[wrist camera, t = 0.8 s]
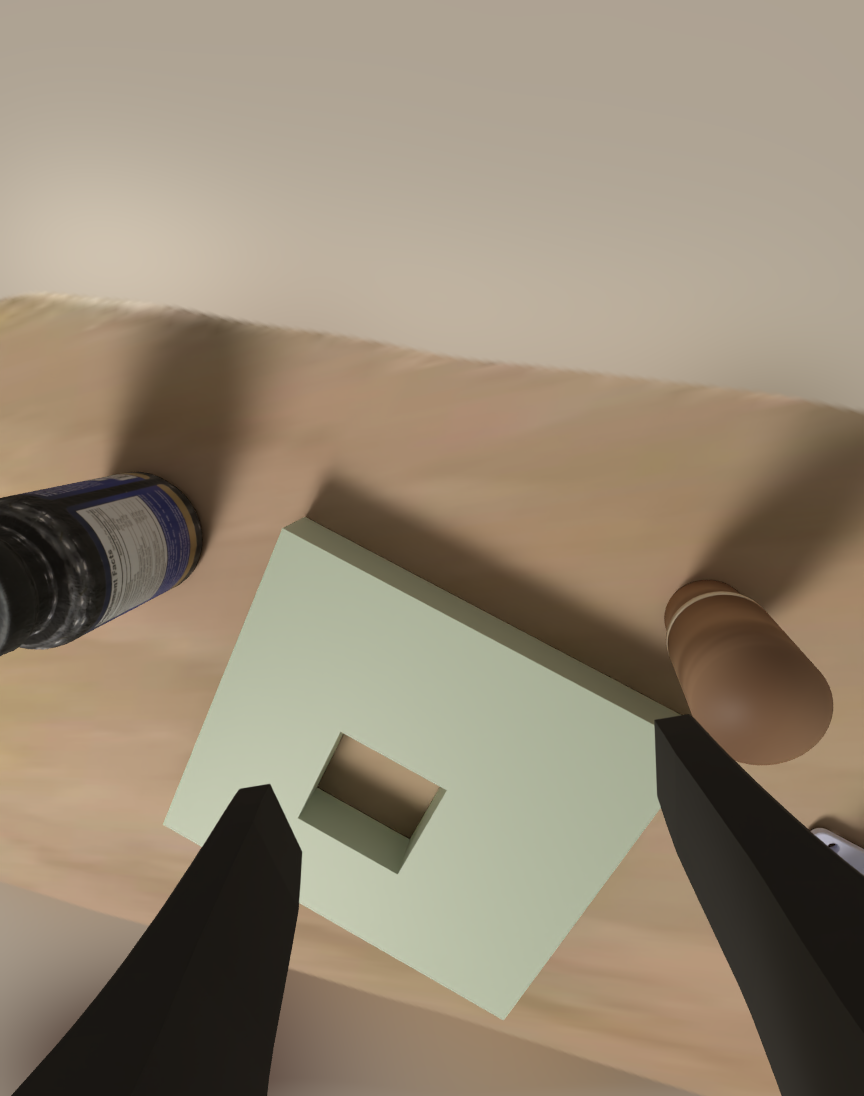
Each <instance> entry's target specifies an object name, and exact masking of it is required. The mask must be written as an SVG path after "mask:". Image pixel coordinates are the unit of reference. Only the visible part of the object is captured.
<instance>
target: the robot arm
mask: <svg viewBox="0 0 864 1096" xmlns="http://www.w3.org/2000/svg"><path fill="white" fill-rule="evenodd" d="M654 728H655V755H656V782H657V797H658V800H659V803H660V806H661V809H662V812H663V815H664V818H665V821H666V824H667V827H668V830H669V832H670V835H671V838H672V841H673V844H674V846H675V849H676V852H677V854H678V857H679V859H680V861H681V863H682V865H683V867H684V870H685V872H686V874H687V876H688V878H689V880H690V883H691V885H692V887H693V889H694V891H695V893H696V895H697V898H698V900H699V902H700V904H701V906H702V908H703V910H704V912H705V915H706V917H707V919H708V921H709V923H710V925H711V927H712V929H713V932H714V934H715V936H716V938H717V940H718V942H719V944H720V946H721V949H722V951H723V953H724V955H725V957H726V959H727V961H728V963H729V966H730V968H731V970H732V972H733V974H734V976H735V978H736V980H737V983H738V985H739V987H740V989H741V992H742V994H743V996H744V999H745V1001H746V1003H747V1006H748V1008H749V1010H750V1013H751V1015H752V1018H753V1020H754V1023H755V1026H756V1028H757V1031H758V1034H759V1036H760V1039H761V1041H762V1044H763V1047H764V1049H765V1052H766V1055H767V1057H768V1060H769V1063H770V1065H771V1068H772V1071H773V1073H774V1076H775V1079H776V1081H777V1084H778V1087H779V1089H780V1092H781V1095H782V1096H864V849H863V848H861V847H859V846H857V845H855V844H853V843H851V842H849V841H848V840H846V839H844V838H842V837H840V836H838V835H836V834H834V833H833V832H831V831H829V830H827V829H824V828H816V829H813V830H811V831H810V830H809V829H807V828H806V827H805V826H804V825H803V824H802V823H801V822H799V821H798V820H797V819H796V818H795V817H794V816H793V815H792V814H791V813H789V812H788V811H787V810H786V809H785V808H784V807H783V806H782V805H781V804H780V803H779V802H777V801H776V800H775V799H774V798H773V797H772V796H771V795H770V794H769V793H768V792H767V791H766V790H764V789H763V788H762V787H761V786H760V785H759V784H758V783H757V782H756V781H755V780H754V779H753V778H752V777H751V776H750V775H749V774H748V773H747V772H746V771H745V770H744V769H743V768H742V767H741V766H740V765H739V764H738V763H737V762H736V761H735V760H734V759H733V758H732V757H731V756H730V755H729V754H728V753H727V752H726V751H725V750H724V749H723V748H722V747H721V746H720V745H719V744H718V743H717V742H716V741H715V740H714V739H713V738H712V737H711V736H710V734H709V733H708V732H707V731H706V730H705V729H704V728H703V727H702V726H701V725H700V724H699V723H698V721H697V720H696V719H695V718H693V717H692V716H690V715H689V714H687V715H681V716H675V717H669V718H662V719H656V720H654ZM831 843H835V844H836V845H835V846H833V847H828V845H829V844H831ZM301 868H302V850H301V848H300V846H299V844H298V842H297V839H296V837H295V835H294V833H293V831H292V829H291V827H290V825H289V822H288V820H287V818H286V816H285V814H284V812H283V810H282V808H281V806H280V803H279V801H278V799H277V797H276V795H275V793H274V791H273V789H272V786H271V784H265V785H259V786H253V787H247V788H241V789H239V790H238V791H237V793H236V794H235V796H234V797H233V799H232V800H231V802H230V803H229V805H228V806H227V808H226V810H225V811H224V813H223V814H222V816H221V818H220V819H219V821H218V822H217V824H216V826H215V827H214V829H213V830H212V832H211V833H210V835H209V837H208V838H207V840H206V841H205V843H204V845H203V846H202V848H201V849H200V851H199V852H198V854H197V856H196V857H195V859H194V860H193V862H192V863H191V865H190V866H189V868H188V869H187V871H186V872H185V874H184V875H183V877H182V878H181V880H180V882H179V883H178V885H177V886H176V888H175V889H174V891H173V892H172V894H171V895H170V897H169V898H168V900H167V901H166V903H165V904H164V906H163V907H162V908H161V910H160V911H159V913H158V914H157V916H156V917H155V919H154V920H153V921H152V923H151V924H150V925H149V927H148V928H147V930H146V931H145V933H144V934H143V935H142V937H141V938H140V939H139V941H138V942H137V944H136V945H135V946H134V948H133V949H132V951H131V952H130V953H129V955H128V956H127V958H126V959H125V960H124V962H123V963H122V964H121V966H120V967H119V968H118V970H117V971H116V973H115V974H114V975H113V976H112V977H111V979H110V980H109V981H108V983H107V984H106V985H105V987H104V988H103V989H102V990H101V992H100V993H99V994H98V996H97V997H96V998H95V999H94V1000H93V1002H92V1003H91V1004H90V1005H89V1007H88V1008H87V1009H86V1010H85V1012H84V1013H83V1014H82V1015H81V1016H80V1018H79V1019H78V1020H77V1021H76V1023H75V1024H74V1025H73V1026H72V1027H71V1029H70V1030H69V1031H68V1032H67V1033H66V1035H65V1036H64V1037H63V1038H62V1039H61V1040H60V1042H59V1043H58V1044H57V1045H56V1046H55V1047H54V1048H53V1050H52V1051H51V1052H50V1053H49V1054H48V1055H47V1056H46V1058H45V1059H44V1060H43V1061H42V1062H41V1063H40V1064H39V1065H38V1066H37V1067H36V1069H35V1070H34V1071H33V1072H32V1073H31V1074H30V1075H29V1077H28V1078H27V1079H26V1080H25V1081H24V1082H23V1083H22V1084H21V1085H20V1086H19V1088H18V1089H17V1090H16V1091H15V1092H14V1093H13V1094H12V1095H11V1096H267V1091H268V1081H269V1074H270V1067H271V1061H272V1054H273V1047H274V1042H275V1037H276V1031H277V1026H278V1020H279V1014H280V1010H281V1004H282V999H283V993H284V988H285V982H286V977H287V972H288V966H289V961H290V955H291V950H292V944H293V939H294V933H295V927H296V922H297V916H298V910H299V897H300V885H301Z"/></svg>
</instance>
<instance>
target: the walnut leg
mask: <svg viewBox="0 0 864 1096" xmlns="http://www.w3.org/2000/svg"><path fill="white" fill-rule="evenodd" d="M664 620H665V626H666V629H667V633H666V647H667V651H668V654H669V657H670V659H671V662H672V665H673V667H674V670H675V672H676V675H677V677H678V680H679V683H680V685H681V688H682V690H683V693H684V695H685V698H686V701H687V703H688V706H689V708H690V711H691V713H692V716H693V718H695V719H696V720H697V721H698V723H699V724H700V725H701V726H702V727H703V728H704V729H705V730H706V731H707V732H708V733H709V734H710V736H711V737H712V738H713V739H714V740H715V741H716V742H717V743H718V744H719V745H720V746H721V747H722V748H723V749H724V750H725V751H726V752H727V753H728V754H729V755H730V756H731V757H732V758H733V759H734V760H735V761H738V762H741V763H746V764H751V765H773V764H779V763H783V762H787V761H790V760H792V759H795V758H797V757H799V756H801V755H803V754H804V753H806V752H807V751H809V750H810V749H811V748H813V747H814V746H815V745H816V744H817V743H818V742H819V741H820V740H821V738H822V737H823V736H824V734H825V733H826V731H827V729H828V727H829V725H830V722H831V719H832V714H833V698H832V693H831V690H830V687H829V685H828V683H827V681H826V679H825V678H824V676H823V675H822V674H821V672H820V671H819V670H818V669H817V668H816V667H815V666H814V664H813V663H812V662H811V661H810V660H809V659H808V658H807V657H806V656H805V654H804V653H803V652H802V651H801V650H800V649H799V648H798V647H797V645H796V644H795V643H794V642H793V641H792V640H791V639H790V638H789V637H788V635H787V634H786V633H785V632H784V631H783V630H782V629H781V628H780V627H779V625H778V624H777V623H776V622H775V621H774V620H773V619H772V618H771V616H770V615H769V614H768V613H767V612H766V611H765V610H764V609H763V608H762V607H761V606H760V605H759V604H758V603H756V602H755V601H754V600H752V599H750V598H748V597H746V596H744V595H741V594H740V593H739V592H738V591H737V590H736V589H734V588H733V587H731V586H730V585H728V584H726V583H723V582H720V581H715V580H700V581H695V582H692V583H690V584H687V585H685V586H684V587H682V588H680V589H679V590H678V591H677V592H676V593H675V594H674V595H673V596H672V597H671V599H670V600H669V602H668V604H667V607H666V610H665V616H664Z"/></svg>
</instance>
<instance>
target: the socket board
mask: <svg viewBox="0 0 864 1096" xmlns="http://www.w3.org/2000/svg"><path fill="white" fill-rule="evenodd" d="M675 716H681V715H680V714H678V713H676V712H675V711H673V710H671V709H669V708H667V707H665V706H663V705H661V704H659V703H657V702H656V701H654V700H652V699H650V698H648V697H646V696H644V695H642V694H640V693H638V692H637V691H635V690H633V689H631V688H629V687H627V686H625V685H623V684H621V683H620V682H618V681H616V680H614V679H612V678H610V677H608V676H606V675H604V674H602V673H601V672H599V671H597V670H595V669H593V668H591V667H589V666H587V665H585V664H583V663H582V662H580V661H578V660H576V659H574V658H572V657H570V656H568V655H566V654H564V653H563V652H561V651H559V650H557V649H555V648H553V647H551V646H549V645H547V644H545V643H544V642H542V641H540V640H538V639H536V638H534V637H532V636H530V635H528V634H526V633H525V632H523V631H521V630H519V629H517V628H515V627H513V626H511V625H509V624H507V623H506V622H504V621H502V620H500V619H498V618H496V617H494V616H492V615H490V614H489V613H487V612H485V611H483V610H481V609H479V608H477V607H475V606H473V605H471V604H470V603H468V602H466V601H464V600H462V599H460V598H458V597H456V596H454V595H452V594H451V593H449V592H447V591H445V590H443V589H441V588H439V587H437V586H435V585H433V584H432V583H430V582H428V581H426V580H424V579H422V578H420V577H418V576H416V575H414V574H413V573H411V572H409V571H407V570H405V569H403V568H401V567H399V566H397V565H395V564H394V563H392V562H390V561H388V560H386V559H384V558H382V557H380V556H378V555H377V554H375V553H373V552H371V551H369V550H367V549H365V548H363V547H361V546H359V545H358V544H356V543H354V542H352V541H350V540H348V539H346V538H344V537H342V536H340V535H339V534H337V533H335V532H333V531H331V530H329V529H327V528H325V527H323V526H321V525H320V524H318V523H316V522H314V521H312V520H310V519H308V518H306V517H304V518H302V519H300V520H298V521H296V522H294V523H292V524H290V525H288V526H286V527H284V528H282V531H281V533H280V536H279V538H278V541H277V543H276V546H275V548H274V551H273V553H272V556H271V558H270V560H269V563H268V565H267V568H266V570H265V573H264V575H263V578H262V580H261V583H260V585H259V588H258V590H257V593H256V595H255V598H254V600H253V603H252V605H251V608H250V610H249V613H248V615H247V617H246V620H245V622H244V625H243V627H242V630H241V632H240V635H239V637H238V640H237V642H236V645H235V647H234V650H233V652H232V655H231V657H230V660H229V662H228V665H227V667H226V670H225V672H224V674H223V677H222V679H221V682H220V684H219V687H218V689H217V692H216V694H215V697H214V699H213V702H212V704H211V707H210V709H209V712H208V714H207V717H206V719H205V722H204V724H203V727H202V729H201V732H200V734H199V736H198V739H197V741H196V744H195V746H194V749H193V751H192V754H191V756H190V759H189V761H188V764H187V766H186V769H185V771H184V774H183V776H182V779H181V781H180V784H179V786H178V789H177V791H176V793H175V796H174V798H173V801H172V803H171V806H170V808H169V811H168V813H167V816H166V818H165V821H164V823H163V825H165V826H166V827H168V828H170V829H172V830H173V831H175V832H177V833H179V834H180V835H182V836H184V837H185V838H187V839H189V840H191V841H192V842H194V843H196V844H198V845H199V846H201V847H202V846H203V845H204V843H205V841H206V840H207V838H208V837H209V835H210V833H211V832H212V830H213V829H214V827H215V826H216V824H217V822H218V821H219V819H220V818H221V816H222V814H223V813H224V811H225V810H226V808H227V806H228V805H229V803H230V802H231V800H232V799H233V797H234V796H235V794H236V793H237V791H238V790H239V789H241V788H247V787H253V786H259V785H265V784H271V786H272V789H273V791H274V793H275V795H276V797H277V799H278V801H279V803H280V806H281V808H282V810H283V812H284V814H285V816H286V818H287V820H288V822H289V825H290V827H291V829H292V831H293V833H294V835H295V837H296V839H297V842H298V844H299V846H300V848H301V850H302V868H301V885H300V897H299V903H300V904H302V905H304V906H305V907H307V908H309V909H311V910H312V911H314V912H316V913H318V914H319V915H321V916H323V917H325V918H326V919H328V920H330V921H332V922H333V923H335V924H337V925H339V926H340V927H342V928H344V929H345V930H347V931H349V932H351V933H352V934H354V935H356V936H358V937H359V938H361V939H363V940H365V941H366V942H368V943H370V944H372V945H373V946H375V947H377V948H379V949H380V950H382V951H384V952H385V953H387V954H389V955H391V956H392V957H394V958H396V959H398V960H399V961H401V962H403V963H405V964H406V965H408V966H410V967H412V968H413V969H415V970H417V971H419V972H420V973H422V974H424V975H425V976H427V977H429V978H431V979H432V980H434V981H436V982H438V983H439V984H441V985H443V986H445V987H446V988H448V989H450V990H452V991H453V992H455V993H457V994H459V995H460V996H462V997H464V998H465V999H467V1000H469V1001H471V1002H472V1003H474V1004H476V1005H478V1006H479V1007H481V1008H483V1009H485V1010H486V1011H488V1012H490V1013H492V1014H493V1015H495V1016H497V1017H499V1018H500V1019H502V1020H504V1019H505V1018H506V1016H507V1015H508V1014H509V1012H510V1011H511V1010H512V1008H513V1007H514V1006H515V1004H516V1003H517V1002H518V1000H519V999H520V998H521V996H522V995H523V993H524V992H525V991H526V989H527V988H528V987H529V985H530V984H531V983H532V981H533V980H534V979H535V977H536V976H537V974H538V973H539V972H540V970H541V969H542V968H543V966H544V965H545V964H546V962H547V961H548V960H549V958H550V957H551V956H552V954H553V953H554V951H555V950H556V949H557V947H558V946H559V945H560V943H561V942H562V941H563V939H564V938H565V937H566V935H567V934H568V933H569V931H570V930H571V928H572V927H573V926H574V924H575V923H576V922H577V920H578V919H579V918H580V916H581V915H582V914H583V912H584V911H585V909H586V908H587V907H588V905H589V904H590V903H591V901H592V900H593V899H594V897H595V896H596V895H597V893H598V892H599V891H600V889H601V888H602V886H603V885H604V884H605V882H606V881H607V880H608V878H609V877H610V876H611V874H612V873H613V872H614V870H615V869H616V867H617V866H618V865H619V863H620V862H621V861H622V859H623V858H624V857H625V855H626V854H627V853H628V851H629V850H630V849H631V847H632V846H633V844H634V843H635V842H636V840H637V839H638V838H639V836H640V835H641V834H642V832H643V831H644V830H645V828H646V827H647V826H648V824H649V823H650V821H651V820H652V819H653V817H654V816H655V815H656V813H657V812H658V811H659V809H660V808H661V806H660V803H659V800H658V797H657V782H656V755H655V728H654V720H656V719H662V718H669V717H675ZM343 734H345V735H347V736H349V737H351V738H353V739H354V740H356V741H358V742H360V743H362V744H364V745H365V746H367V747H369V748H371V749H373V750H374V751H376V752H378V753H380V754H382V755H384V756H385V757H387V758H389V759H391V760H393V761H394V762H396V763H398V764H400V765H402V766H403V767H405V768H407V769H409V770H411V771H413V772H414V773H416V774H418V775H420V776H422V777H423V778H425V779H427V780H429V781H431V782H433V783H434V784H436V785H438V786H440V788H439V790H438V791H437V793H436V795H435V797H434V798H433V800H432V802H431V803H430V805H429V807H428V809H427V810H426V812H425V814H424V816H423V817H422V819H421V821H420V822H419V824H418V826H417V828H416V829H415V831H414V833H413V834H412V836H411V838H410V839H408V838H406V837H405V836H403V835H401V834H399V833H397V832H396V831H394V830H392V829H390V828H388V827H387V826H385V825H383V824H381V823H380V822H378V821H376V820H374V819H372V818H371V817H369V816H367V815H365V814H363V813H362V812H360V811H358V810H356V809H355V808H353V807H351V806H349V805H347V804H346V803H344V802H342V801H340V800H338V799H337V798H335V797H333V796H331V795H329V794H328V793H326V792H324V791H322V790H321V789H319V788H317V786H318V784H319V782H320V780H321V778H322V776H323V774H324V772H325V770H326V768H327V766H328V764H329V762H330V760H331V758H332V756H333V754H334V752H335V750H336V748H337V746H338V744H339V742H340V740H341V738H342V736H343Z"/></svg>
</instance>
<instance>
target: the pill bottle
mask: <svg viewBox="0 0 864 1096" xmlns="http://www.w3.org/2000/svg"><path fill="white" fill-rule="evenodd" d="M201 549H202V531H201V526H200V522H199V518H198V516H197V514H196V512H195V509H194V508H193V506H192V505H191V503H190V501H189V500H188V499H187V498H186V496H185V495H184V494H183V493H182V492H181V491H180V490H178V489H177V488H176V487H175V486H173V485H171V484H170V483H169V482H167V481H165V480H163V479H161V478H160V477H158V476H155V475H152V474H148V473H143V472H129V473H123V474H116V475H111V476H107V477H102V478H97V479H92V480H87V481H82V482H77V483H72V484H67V485H62V486H57V487H52V488H48V489H43V490H38V491H33V492H28V493H23V494H18V495H13V496H8V497H3V498H0V656H2V655H3V654H6V653H8V652H11V651H14V650H15V649H17V648H18V647H20V648H26V649H49V648H54V647H58V646H61V645H65V644H67V643H69V642H72V641H74V640H75V639H77V638H79V637H81V636H82V635H84V634H86V633H88V632H90V631H92V630H94V629H96V628H97V627H99V626H101V625H103V624H105V623H107V622H109V621H111V620H113V619H115V618H117V617H118V616H120V615H123V614H124V613H126V612H128V611H130V610H132V609H134V608H136V607H138V606H140V605H142V604H143V603H145V602H147V601H149V600H151V599H153V598H155V597H157V596H159V595H160V594H162V593H164V592H166V591H168V590H170V589H172V588H174V587H176V586H178V585H180V584H181V583H182V582H183V581H184V580H186V579H187V578H188V577H189V575H190V574H191V573H192V572H193V571H194V569H195V567H196V565H197V562H198V560H199V556H200V553H201Z"/></svg>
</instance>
